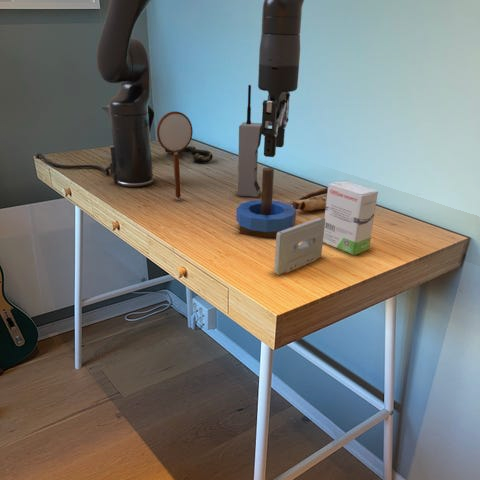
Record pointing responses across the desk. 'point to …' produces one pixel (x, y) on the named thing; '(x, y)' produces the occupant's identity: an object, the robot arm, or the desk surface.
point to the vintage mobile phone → (248, 154)
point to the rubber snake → (206, 154)
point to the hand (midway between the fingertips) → (273, 151)
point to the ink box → (349, 216)
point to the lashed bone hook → (312, 201)
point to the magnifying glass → (175, 139)
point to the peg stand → (264, 203)
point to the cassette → (297, 255)
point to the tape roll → (265, 216)
